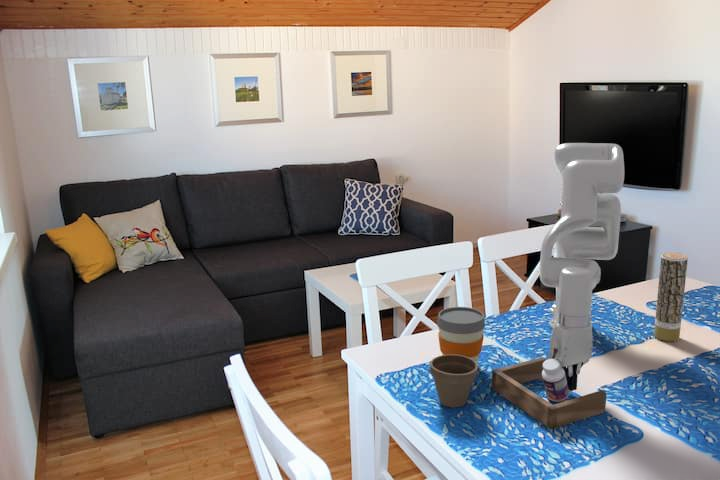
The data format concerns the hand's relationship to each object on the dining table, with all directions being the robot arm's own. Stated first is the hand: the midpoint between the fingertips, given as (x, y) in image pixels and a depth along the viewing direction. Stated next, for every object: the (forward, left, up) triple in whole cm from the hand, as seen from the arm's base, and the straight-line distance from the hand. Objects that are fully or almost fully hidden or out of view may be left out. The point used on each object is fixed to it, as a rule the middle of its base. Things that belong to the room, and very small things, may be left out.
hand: (569, 388), depth 162 cm
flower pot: (-10, -27, -2) cm, 29 cm away
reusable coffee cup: (-25, -15, -2) cm, 30 cm away
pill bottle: (0, -4, -1) cm, 4 cm away
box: (0, -7, -2) cm, 7 cm away
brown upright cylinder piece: (-12, +48, -2) cm, 50 cm away
